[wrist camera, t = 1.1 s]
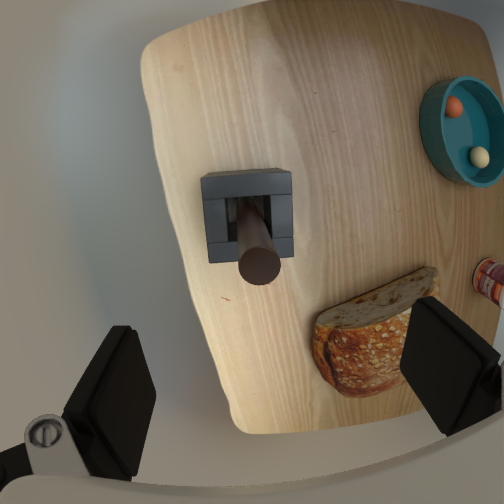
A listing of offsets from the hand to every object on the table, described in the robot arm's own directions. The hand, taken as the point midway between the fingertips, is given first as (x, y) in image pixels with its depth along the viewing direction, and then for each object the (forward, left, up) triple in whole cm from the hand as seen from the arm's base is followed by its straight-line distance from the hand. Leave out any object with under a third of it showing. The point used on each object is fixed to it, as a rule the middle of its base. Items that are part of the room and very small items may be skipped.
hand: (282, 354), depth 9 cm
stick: (0, 0, -27) cm, 27 cm away
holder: (0, 0, -27) cm, 27 cm away
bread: (+20, +18, -27) cm, 38 cm away
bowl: (-10, +31, -27) cm, 42 cm away
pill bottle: (+13, +40, -27) cm, 50 cm away
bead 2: (-7, +33, -25) cm, 42 cm away
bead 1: (-13, +28, -25) cm, 40 cm away
